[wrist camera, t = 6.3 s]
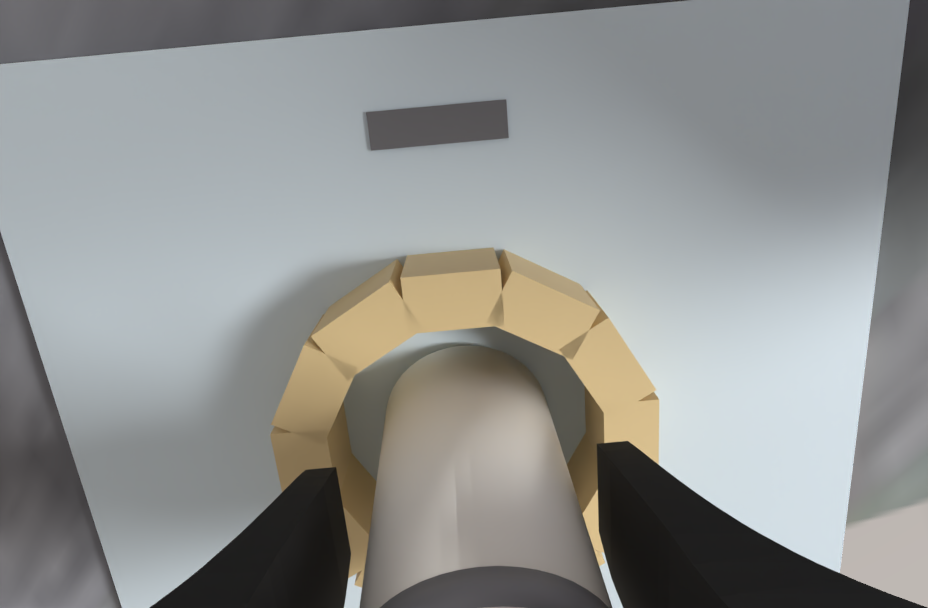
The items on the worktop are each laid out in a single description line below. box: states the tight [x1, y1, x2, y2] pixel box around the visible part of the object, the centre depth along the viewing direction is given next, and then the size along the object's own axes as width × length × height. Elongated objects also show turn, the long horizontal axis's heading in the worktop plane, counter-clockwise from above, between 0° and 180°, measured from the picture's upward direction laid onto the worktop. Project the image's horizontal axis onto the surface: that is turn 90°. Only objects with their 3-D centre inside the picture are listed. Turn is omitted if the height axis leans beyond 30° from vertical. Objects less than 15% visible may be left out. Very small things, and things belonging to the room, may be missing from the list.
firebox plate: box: [0, 0, 910, 608], centre depth 15 cm, size 20×18×3 cm
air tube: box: [359, 345, 612, 608], centre depth 11 cm, size 4×4×8 cm
